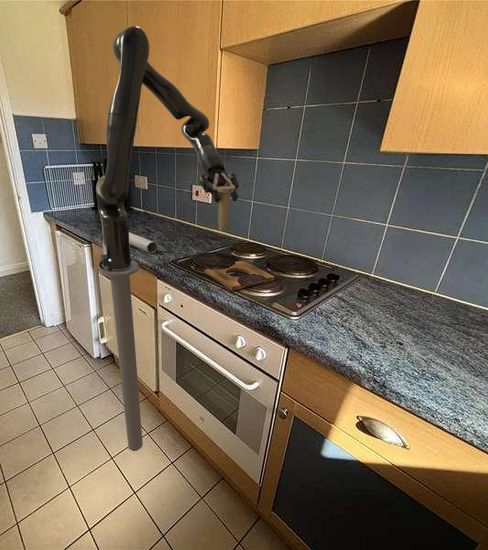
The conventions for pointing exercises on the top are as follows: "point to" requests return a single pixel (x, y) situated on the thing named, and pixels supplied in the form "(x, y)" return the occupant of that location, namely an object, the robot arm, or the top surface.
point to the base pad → (233, 281)
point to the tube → (142, 243)
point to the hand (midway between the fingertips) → (227, 200)
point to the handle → (224, 206)
